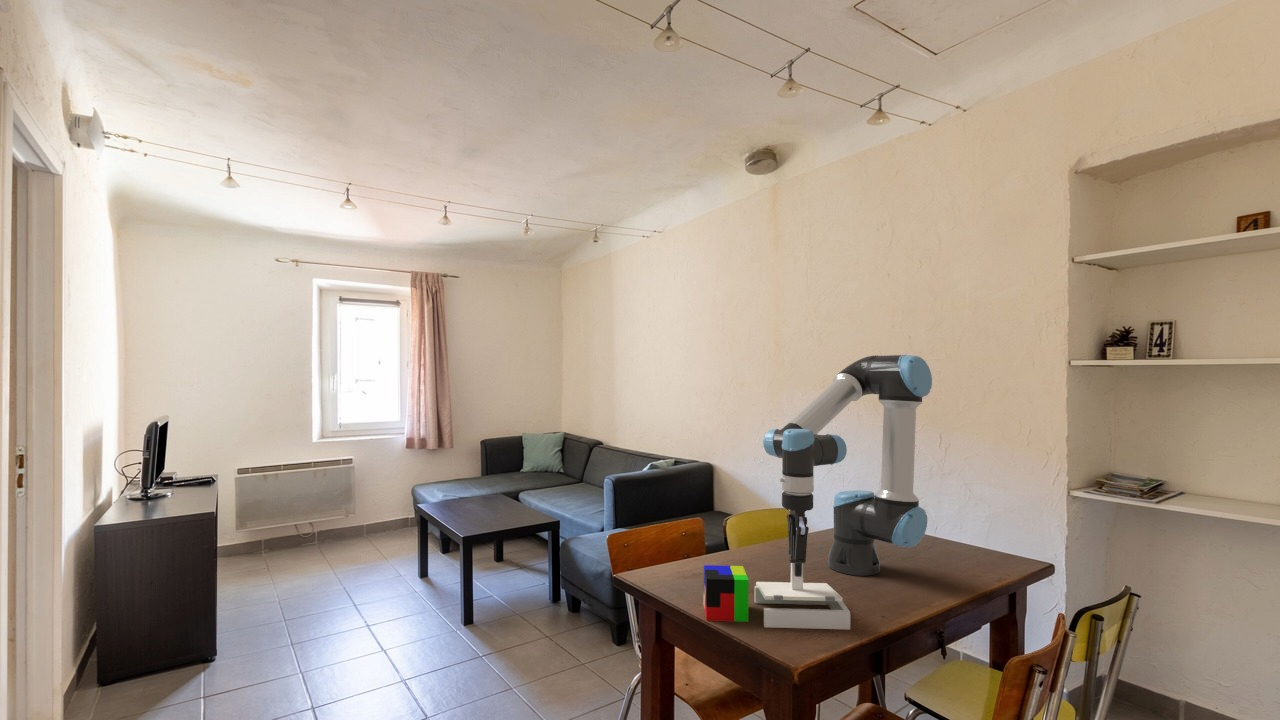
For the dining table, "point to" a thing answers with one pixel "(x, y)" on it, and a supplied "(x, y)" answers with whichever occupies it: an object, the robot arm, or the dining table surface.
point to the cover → (798, 591)
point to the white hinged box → (805, 614)
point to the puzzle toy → (725, 593)
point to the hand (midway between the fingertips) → (796, 587)
